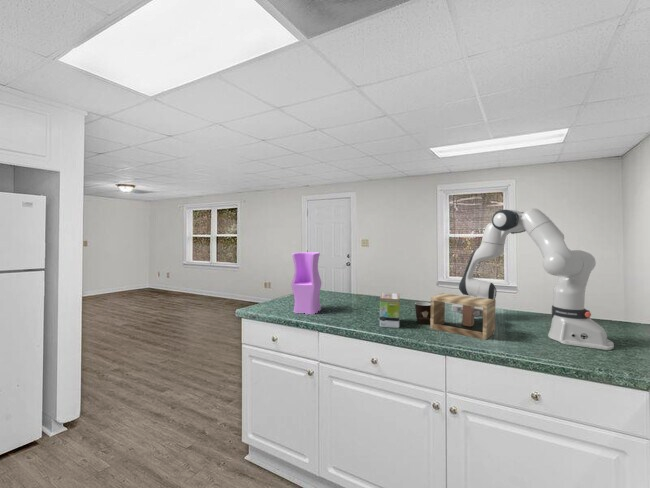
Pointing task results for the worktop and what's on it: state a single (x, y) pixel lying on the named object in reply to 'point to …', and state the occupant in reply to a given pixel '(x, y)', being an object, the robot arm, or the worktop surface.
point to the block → (468, 315)
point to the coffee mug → (423, 312)
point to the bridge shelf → (486, 304)
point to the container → (306, 282)
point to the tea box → (389, 310)
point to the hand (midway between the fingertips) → (467, 313)
